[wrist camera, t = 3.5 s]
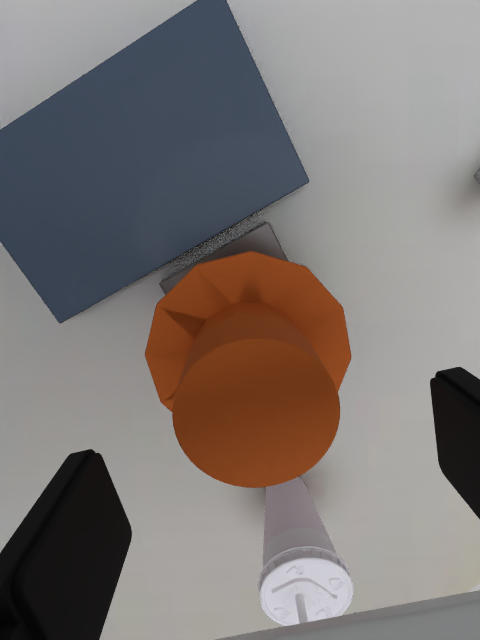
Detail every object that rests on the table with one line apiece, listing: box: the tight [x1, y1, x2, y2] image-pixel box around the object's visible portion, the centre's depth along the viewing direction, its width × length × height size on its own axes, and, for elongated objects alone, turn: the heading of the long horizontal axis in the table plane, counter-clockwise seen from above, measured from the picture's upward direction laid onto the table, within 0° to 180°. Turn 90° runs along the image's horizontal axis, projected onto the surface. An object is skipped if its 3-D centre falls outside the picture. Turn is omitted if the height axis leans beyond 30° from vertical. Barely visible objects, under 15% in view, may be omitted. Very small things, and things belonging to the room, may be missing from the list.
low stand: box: [0, 0, 309, 323], centre depth 24 cm, size 20×12×2 cm, turn 119°
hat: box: [145, 251, 351, 488], centre depth 15 cm, size 10×10×6 cm
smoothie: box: [258, 477, 353, 626], centre depth 27 cm, size 6×6×14 cm
